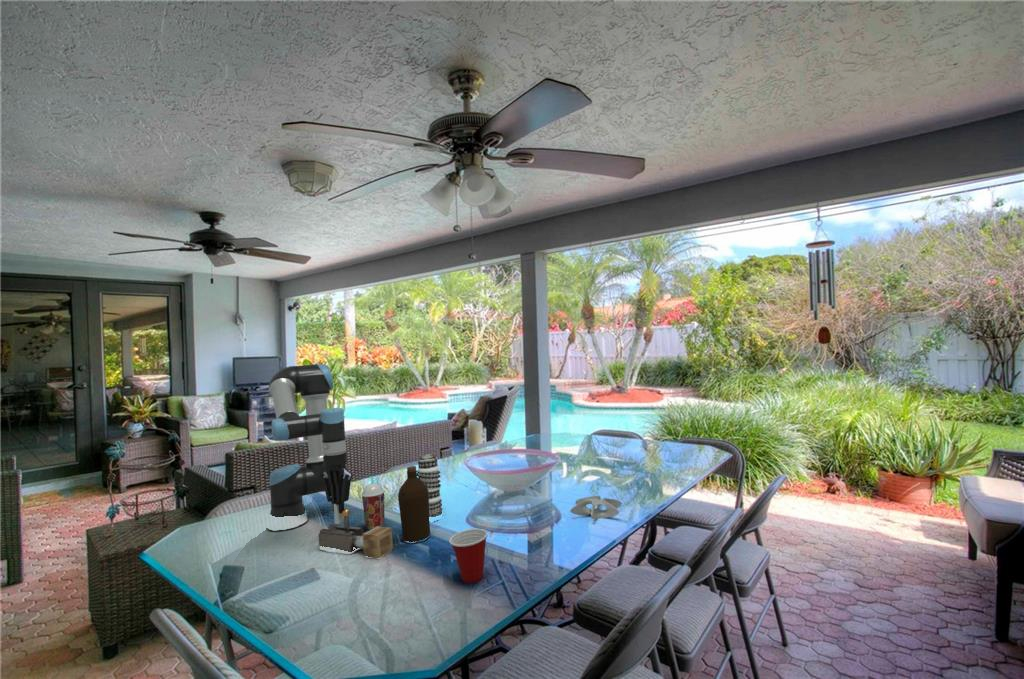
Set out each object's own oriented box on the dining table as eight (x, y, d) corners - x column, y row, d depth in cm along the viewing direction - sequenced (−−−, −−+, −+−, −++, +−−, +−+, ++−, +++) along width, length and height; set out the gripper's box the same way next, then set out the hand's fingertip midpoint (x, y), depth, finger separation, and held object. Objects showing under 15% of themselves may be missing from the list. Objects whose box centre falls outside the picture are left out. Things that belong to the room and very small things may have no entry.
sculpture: (604, 529, 157) (602, 510, 157) (560, 517, 172) (559, 499, 172) (633, 514, 168) (632, 497, 169) (590, 504, 183) (589, 488, 184)
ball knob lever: (337, 547, 156) (334, 510, 157) (345, 543, 160) (343, 506, 160) (374, 552, 150) (371, 513, 150) (382, 547, 153) (379, 509, 154)
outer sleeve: (319, 550, 158) (318, 530, 158) (333, 543, 164) (332, 524, 164) (350, 555, 152) (349, 534, 152) (364, 547, 158) (363, 527, 158)
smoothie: (391, 526, 177) (387, 473, 178) (376, 534, 169) (372, 479, 170) (374, 524, 180) (371, 472, 181) (359, 532, 173) (355, 478, 173)
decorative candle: (415, 522, 178) (410, 457, 179) (428, 514, 187) (423, 452, 188) (435, 524, 175) (430, 457, 176) (448, 515, 183) (443, 452, 184)
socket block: (364, 557, 149) (362, 534, 150) (378, 548, 156) (377, 526, 156) (378, 559, 147) (377, 535, 147) (393, 550, 153) (391, 527, 154)
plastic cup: (449, 574, 133) (446, 532, 133) (486, 566, 136) (482, 525, 136) (455, 591, 122) (452, 546, 123) (495, 582, 125) (491, 538, 126)
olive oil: (428, 543, 157) (423, 469, 158) (397, 545, 157) (392, 472, 158) (434, 531, 167) (429, 462, 168) (405, 533, 167) (400, 464, 168)
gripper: (312, 455, 158) (316, 525, 157) (340, 456, 153) (345, 527, 152) (329, 450, 165) (333, 517, 164) (357, 451, 160) (361, 519, 159)
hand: (339, 522), depth 158 cm, fingers closed
